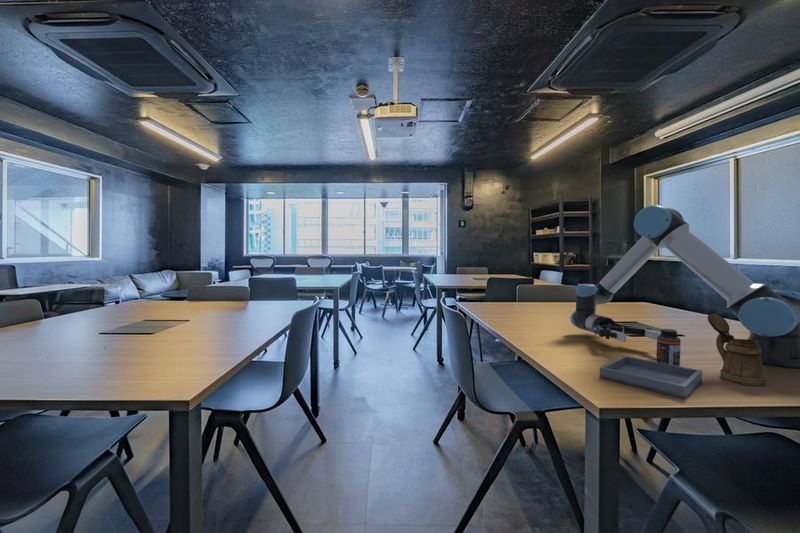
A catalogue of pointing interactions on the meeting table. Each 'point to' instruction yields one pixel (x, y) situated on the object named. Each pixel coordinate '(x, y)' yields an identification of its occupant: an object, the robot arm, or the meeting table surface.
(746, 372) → the wooden mug
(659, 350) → the supplement bottle
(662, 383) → the grey tray
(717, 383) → the meeting table surface
